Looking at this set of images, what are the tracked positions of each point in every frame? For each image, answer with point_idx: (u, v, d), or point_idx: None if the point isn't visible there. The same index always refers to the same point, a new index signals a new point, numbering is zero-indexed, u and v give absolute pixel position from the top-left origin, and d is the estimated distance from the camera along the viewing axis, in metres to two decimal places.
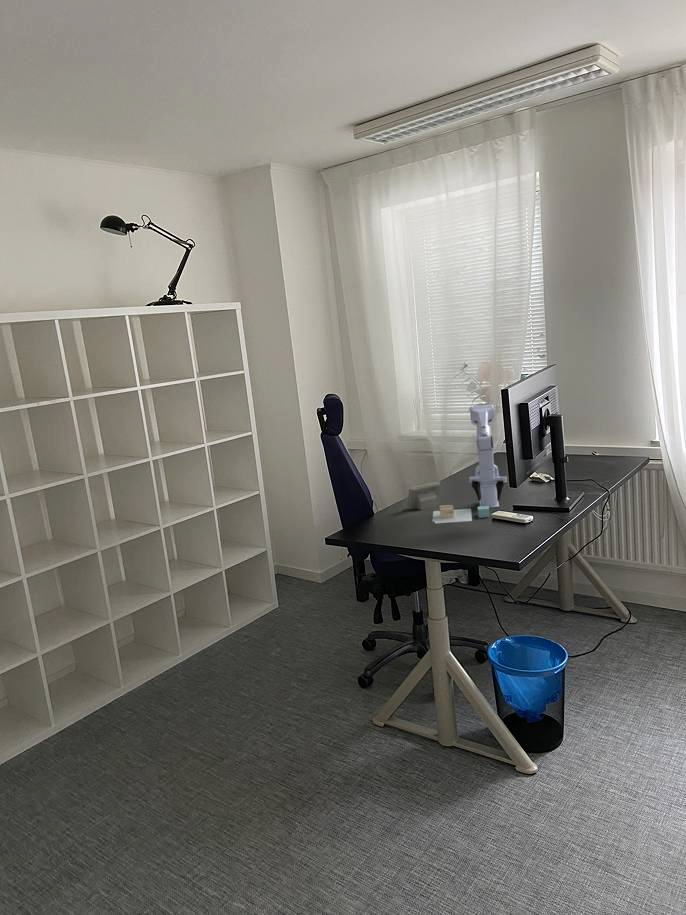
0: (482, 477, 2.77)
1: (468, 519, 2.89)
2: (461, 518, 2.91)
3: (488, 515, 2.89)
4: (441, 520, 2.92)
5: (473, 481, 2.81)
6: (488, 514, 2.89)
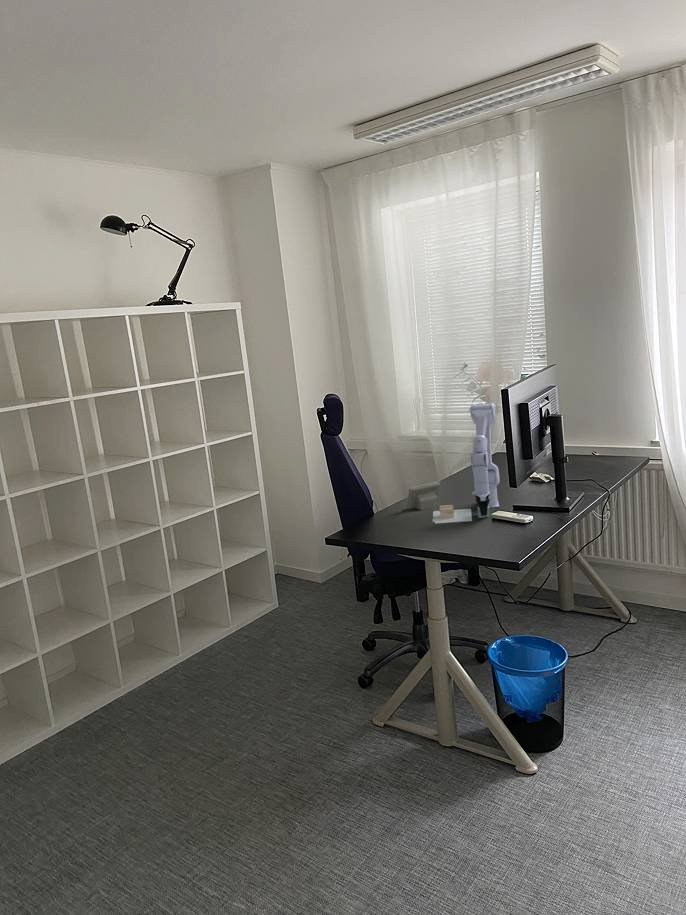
0: None
1: (468, 519, 2.89)
2: (461, 518, 2.91)
3: (488, 515, 2.89)
4: (441, 520, 2.92)
5: None
6: (488, 514, 2.89)
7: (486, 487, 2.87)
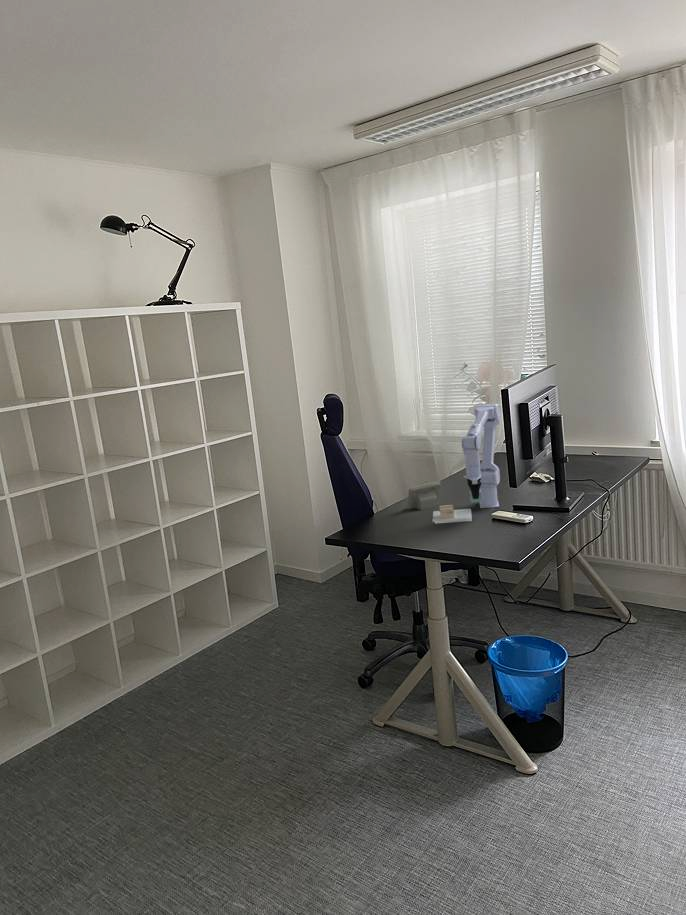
0: None
1: (468, 519, 2.89)
2: (461, 518, 2.91)
3: (480, 498, 2.88)
4: (441, 520, 2.92)
5: None
6: (480, 497, 2.88)
7: (478, 470, 2.86)
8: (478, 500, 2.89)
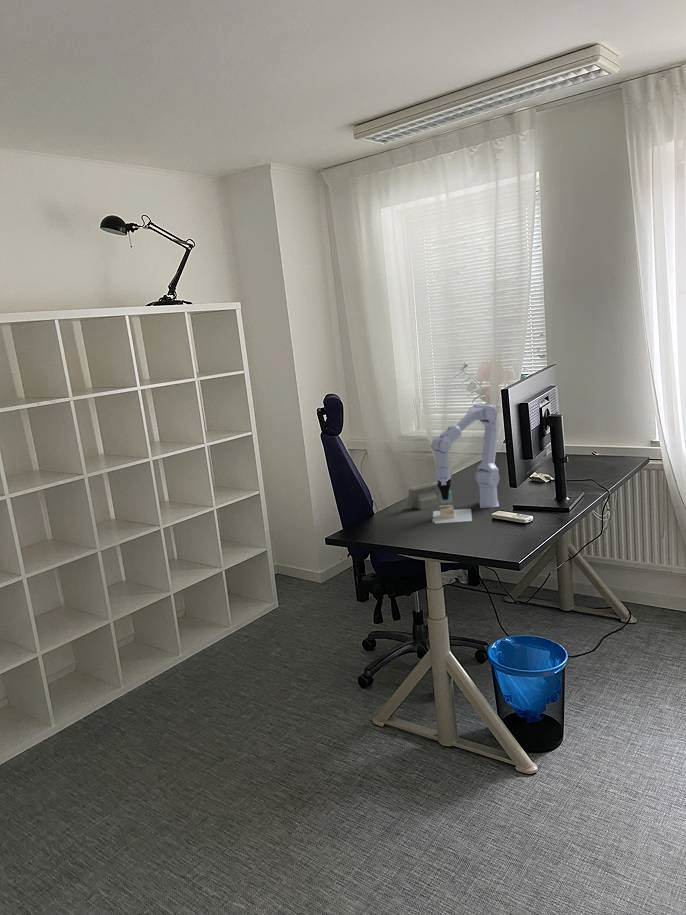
0: None
1: (468, 519, 2.89)
2: (461, 518, 2.91)
3: (450, 499, 2.93)
4: (441, 520, 2.92)
5: None
6: (450, 498, 2.93)
7: (447, 472, 2.91)
8: (448, 501, 2.93)
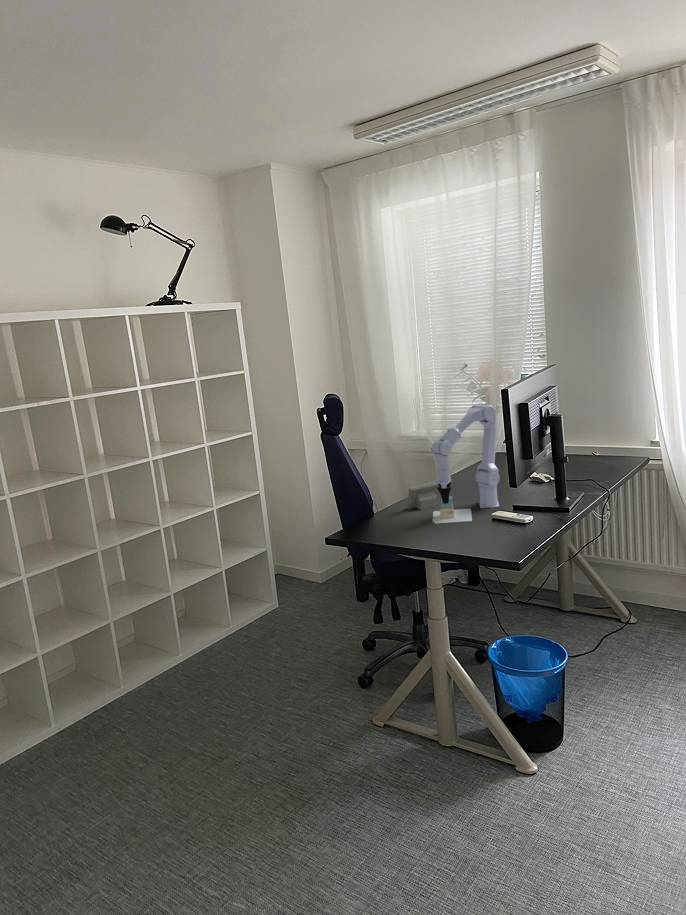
0: None
1: (468, 519, 2.89)
2: (461, 518, 2.91)
3: (451, 505, 2.93)
4: (441, 520, 2.92)
5: None
6: (451, 504, 2.93)
7: (447, 475, 2.91)
8: (449, 507, 2.94)
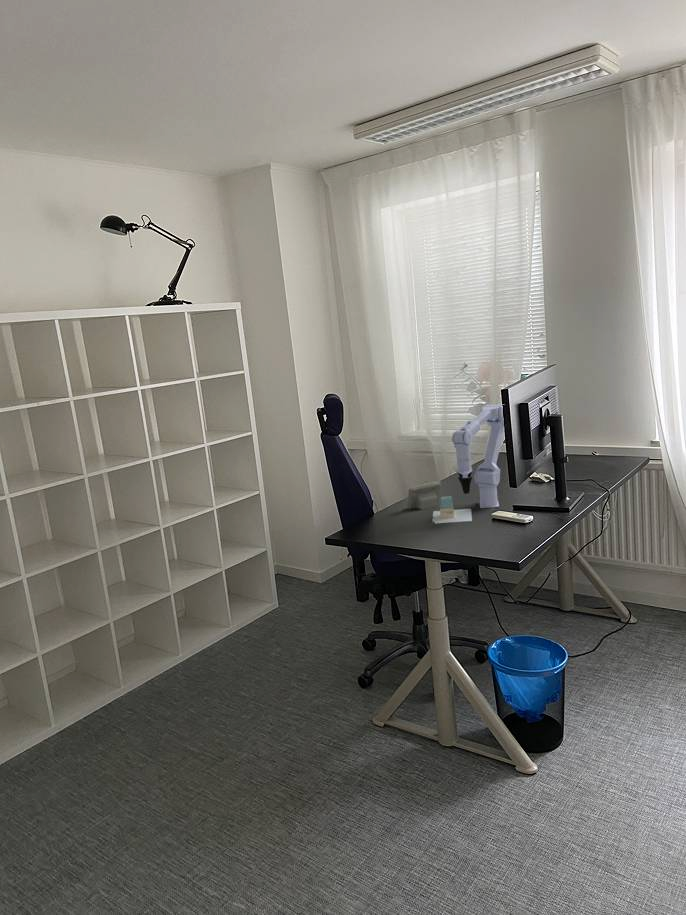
0: None
1: (468, 519, 2.89)
2: (461, 518, 2.91)
3: (451, 505, 2.93)
4: (441, 520, 2.92)
5: None
6: (451, 504, 2.93)
7: (468, 465, 2.90)
8: (449, 507, 2.94)
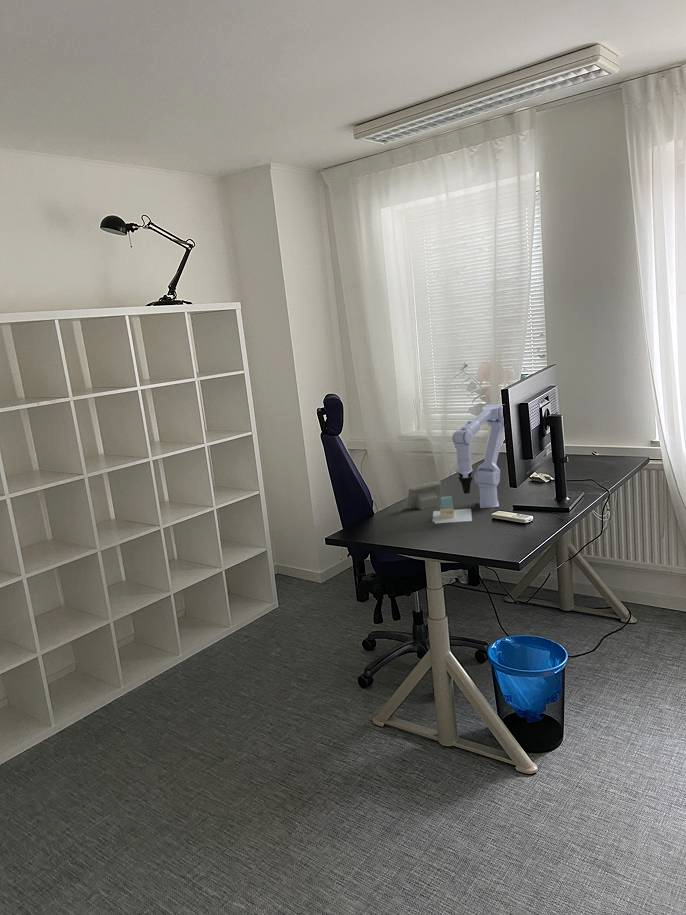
0: None
1: (468, 519, 2.89)
2: (461, 518, 2.91)
3: (451, 505, 2.93)
4: (441, 520, 2.92)
5: None
6: (451, 504, 2.93)
7: (469, 464, 2.90)
8: (449, 507, 2.94)
